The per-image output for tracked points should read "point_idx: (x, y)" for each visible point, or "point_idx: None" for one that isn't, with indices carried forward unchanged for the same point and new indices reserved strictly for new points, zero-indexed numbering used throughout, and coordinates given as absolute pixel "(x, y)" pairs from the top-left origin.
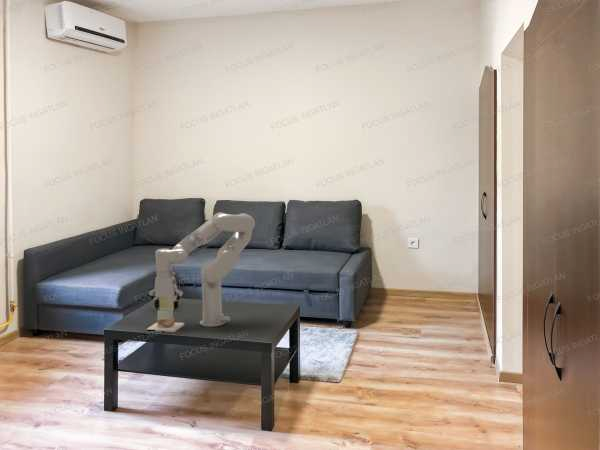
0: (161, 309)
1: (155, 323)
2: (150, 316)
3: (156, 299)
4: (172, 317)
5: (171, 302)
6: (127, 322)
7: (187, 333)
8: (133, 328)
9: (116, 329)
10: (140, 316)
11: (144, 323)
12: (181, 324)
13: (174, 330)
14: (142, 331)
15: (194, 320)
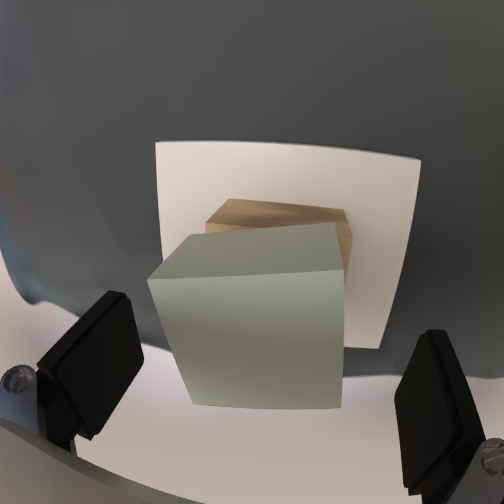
0: (193, 336)
1: (161, 197)
2: (54, 4)
3: (67, 438)
4: (345, 277)
5: None
6: (3, 164)
7: (456, 347)
8: (79, 271)
9: (32, 288)
10: (12, 35)
11: (76, 158)
12: (409, 207)
13: (378, 342)
14: (158, 326)
15: (451, 24)
